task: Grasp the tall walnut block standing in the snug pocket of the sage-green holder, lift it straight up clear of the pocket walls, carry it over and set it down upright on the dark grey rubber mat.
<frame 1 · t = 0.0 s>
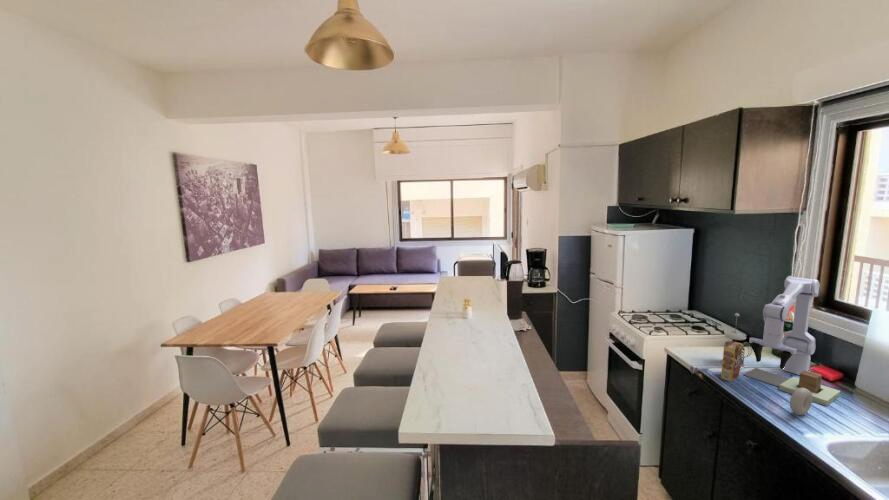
hand: (769, 364, 148), 10 cm above the worktop, fingers open, 7 cm apart
candy box: (730, 377, 158), on the worktop
french press: (734, 364, 170), on the worktop
pocket holder: (808, 392, 145), on the worktop
donut: (799, 414, 131), on the worktop
rubber mat: (766, 377, 158), on the worktop
walnut block: (809, 383, 144), in the pocket holder
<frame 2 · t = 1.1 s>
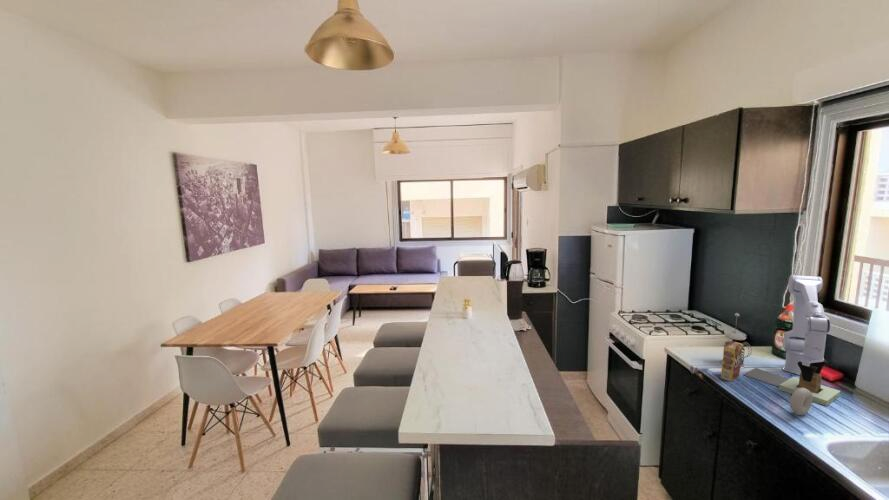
hand: (810, 378, 144), 6 cm above the worktop, fingers open, 7 cm apart
nothing on the worktop moved.
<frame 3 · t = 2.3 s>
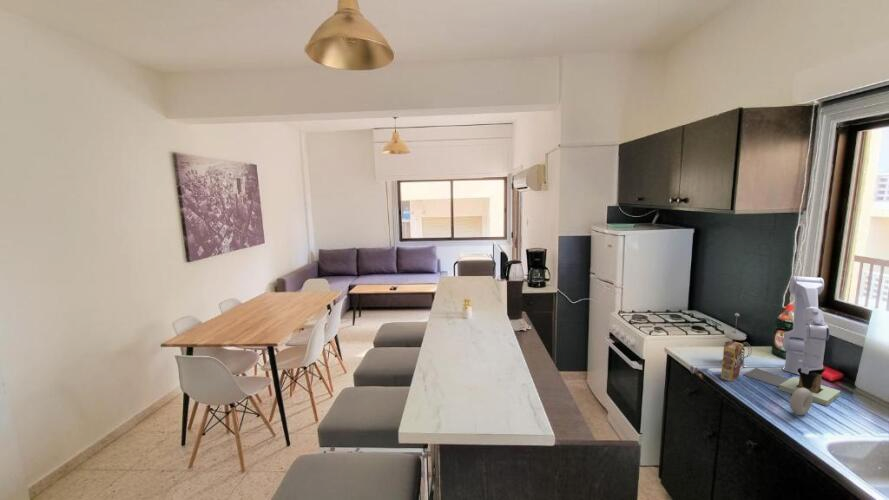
hand: (809, 385, 144), 3 cm above the worktop, fingers closed on walnut block, 5 cm apart
walnut block: (809, 383, 144), in the pocket holder, touching gripper
everything else where it was.
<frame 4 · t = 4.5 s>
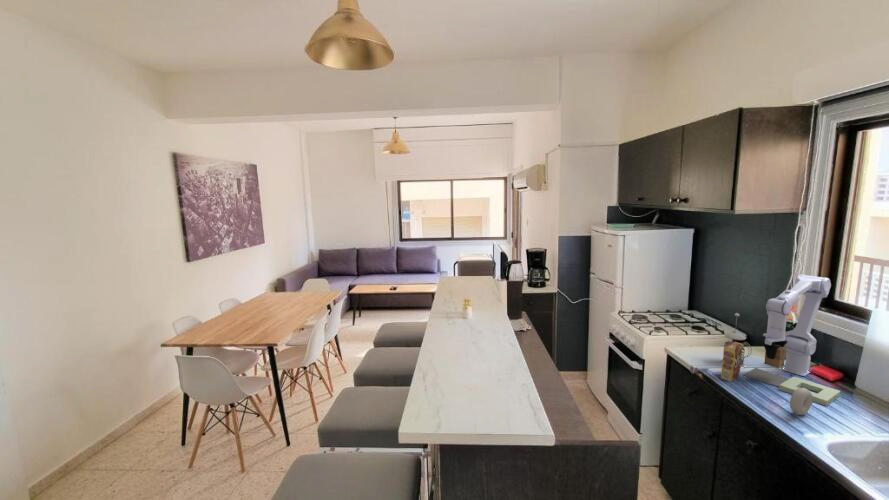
hand: (773, 356, 155), 10 cm above the worktop, fingers closed on walnut block, 5 cm apart
walnut block: (775, 355, 154), point 11 cm above the worktop, touching gripper
everything else where it was.
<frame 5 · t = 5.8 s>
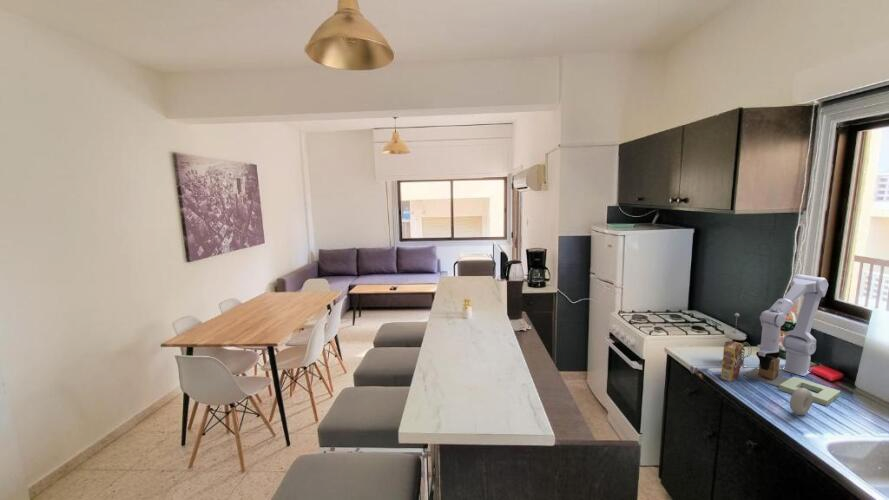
hand: (767, 367, 157), 4 cm above the worktop, fingers closed on walnut block, 5 cm apart
walnut block: (768, 367, 156), point 5 cm above the worktop, touching gripper
everything else where it was.
when the fingers open (4 cm above the worktop, at t = 6.7 s): walnut block stays where it is, resting on rubber mat.
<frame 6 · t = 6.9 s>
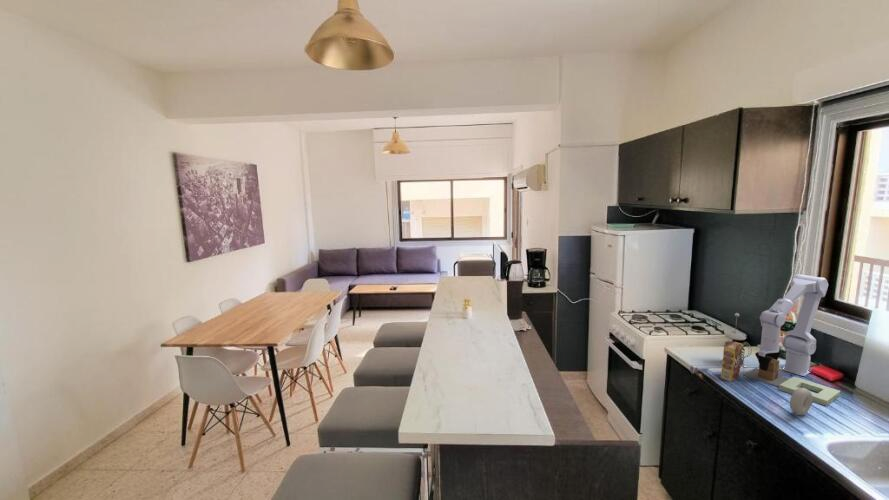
hand: (767, 367, 157), 4 cm above the worktop, fingers open, 7 cm apart
walnut block: (768, 368, 157), on the rubber mat
everything else where it was.
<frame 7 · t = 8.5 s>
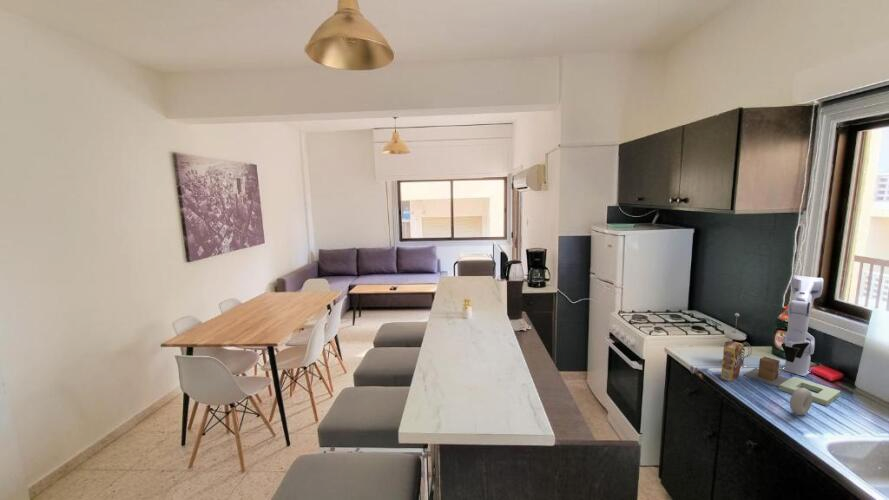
hand: (793, 359, 152), 10 cm above the worktop, fingers open, 7 cm apart
nothing on the worktop moved.
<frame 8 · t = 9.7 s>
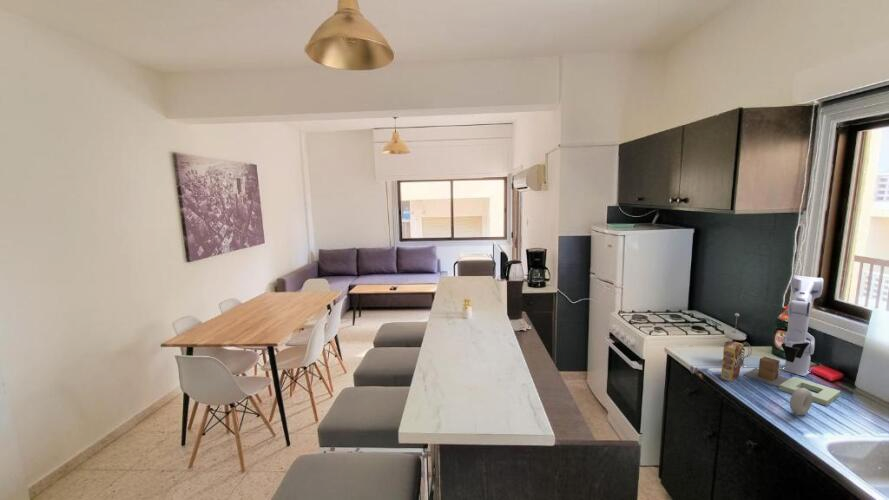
hand: (793, 359, 152), 10 cm above the worktop, fingers open, 7 cm apart
nothing on the worktop moved.
at the end: walnut block inside the target area on the rubber mat (0.5 cm from its centre), point 4.4 cm above the rubber mat's base; walnut block tilted 0°; the gripper is holding nothing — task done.
